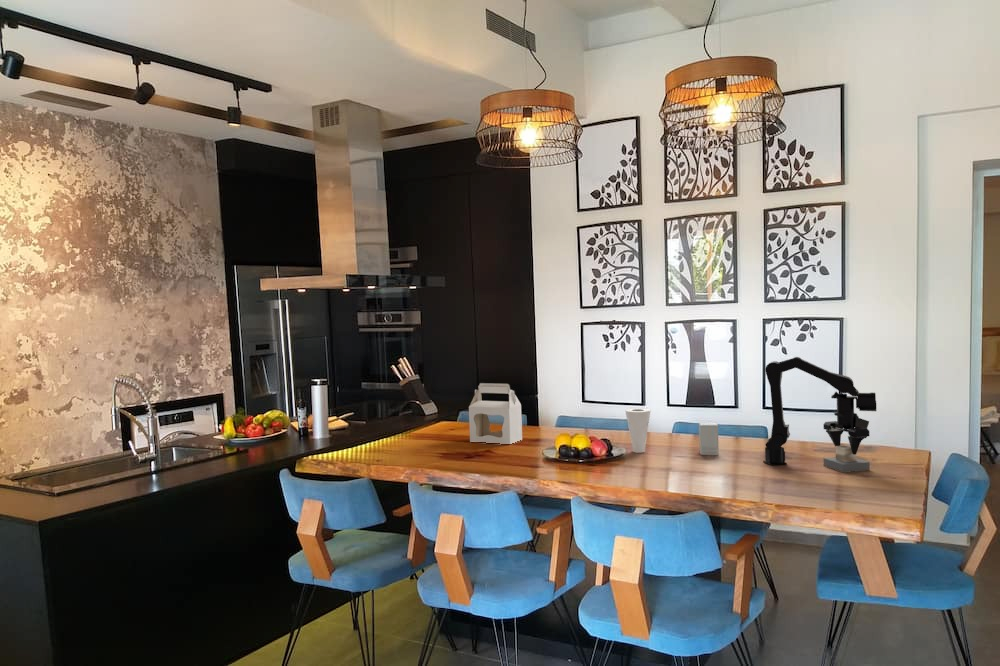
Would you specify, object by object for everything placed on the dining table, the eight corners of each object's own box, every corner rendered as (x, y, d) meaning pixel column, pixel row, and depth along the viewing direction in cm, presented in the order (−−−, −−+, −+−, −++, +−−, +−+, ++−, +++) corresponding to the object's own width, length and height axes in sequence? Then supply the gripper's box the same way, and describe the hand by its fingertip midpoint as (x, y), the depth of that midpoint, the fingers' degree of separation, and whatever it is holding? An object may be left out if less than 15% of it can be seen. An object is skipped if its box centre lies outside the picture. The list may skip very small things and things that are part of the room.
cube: (844, 462, 260) (844, 448, 260) (835, 459, 265) (835, 446, 265) (856, 461, 261) (856, 447, 261) (847, 458, 266) (847, 445, 265)
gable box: (469, 442, 338) (467, 384, 337) (482, 437, 350) (480, 381, 349) (510, 445, 328) (508, 385, 327) (522, 440, 340) (521, 382, 339)
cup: (652, 454, 298) (651, 412, 298) (626, 454, 300) (625, 412, 299) (650, 449, 309) (649, 408, 308) (626, 449, 310) (625, 408, 310)
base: (842, 472, 256) (842, 464, 256) (823, 465, 267) (823, 458, 267) (869, 470, 258) (869, 462, 258) (849, 463, 269) (849, 456, 269)
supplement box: (719, 455, 292) (718, 425, 291) (700, 455, 293) (699, 425, 293) (717, 451, 299) (716, 422, 298) (699, 451, 300) (698, 422, 300)
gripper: (882, 412, 254) (883, 455, 255) (848, 405, 273) (848, 445, 273) (854, 414, 252) (855, 457, 253) (822, 407, 271) (823, 447, 271)
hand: (846, 451), depth 263 cm, fingers open, 9 cm apart
